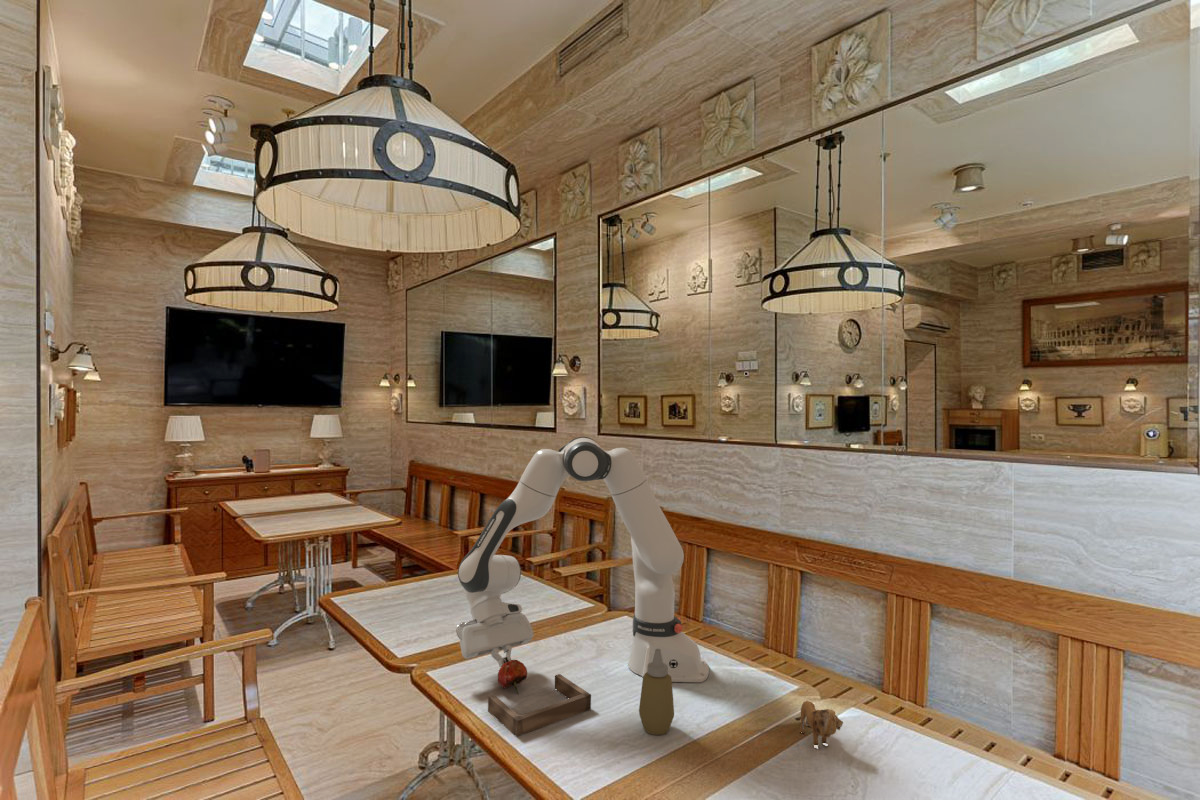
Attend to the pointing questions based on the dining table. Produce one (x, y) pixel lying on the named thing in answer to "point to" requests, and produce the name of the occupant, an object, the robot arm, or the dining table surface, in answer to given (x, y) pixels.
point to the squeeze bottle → (656, 697)
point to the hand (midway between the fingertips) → (506, 665)
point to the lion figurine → (819, 721)
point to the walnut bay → (542, 709)
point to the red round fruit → (512, 673)
